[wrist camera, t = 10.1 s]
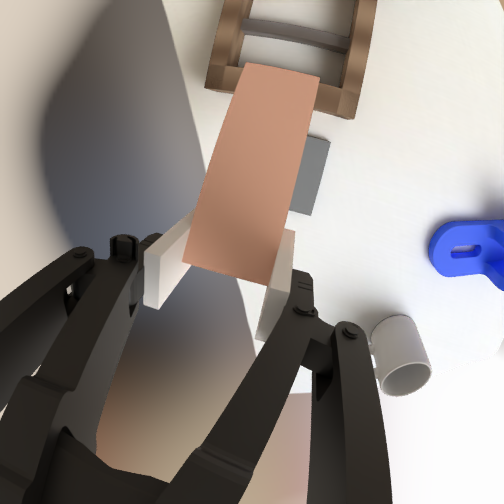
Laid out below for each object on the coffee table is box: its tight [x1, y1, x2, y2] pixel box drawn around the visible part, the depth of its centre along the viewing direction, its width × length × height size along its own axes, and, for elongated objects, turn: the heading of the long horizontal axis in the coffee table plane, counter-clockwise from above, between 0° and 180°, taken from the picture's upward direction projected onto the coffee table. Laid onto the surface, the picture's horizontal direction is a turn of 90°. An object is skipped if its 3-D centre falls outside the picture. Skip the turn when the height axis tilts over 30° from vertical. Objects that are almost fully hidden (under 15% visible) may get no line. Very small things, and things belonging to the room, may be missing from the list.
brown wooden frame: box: [204, 0, 377, 120], centre depth 25 cm, size 21×17×5 cm
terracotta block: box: [182, 62, 320, 286], centre depth 16 cm, size 12×4×4 cm, turn 167°
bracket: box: [429, 220, 504, 291], centre depth 31 cm, size 18×8×9 cm, turn 98°
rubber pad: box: [289, 136, 331, 216], centre depth 35 cm, size 10×10×1 cm
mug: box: [368, 315, 432, 397], centre depth 39 cm, size 12×8×11 cm
